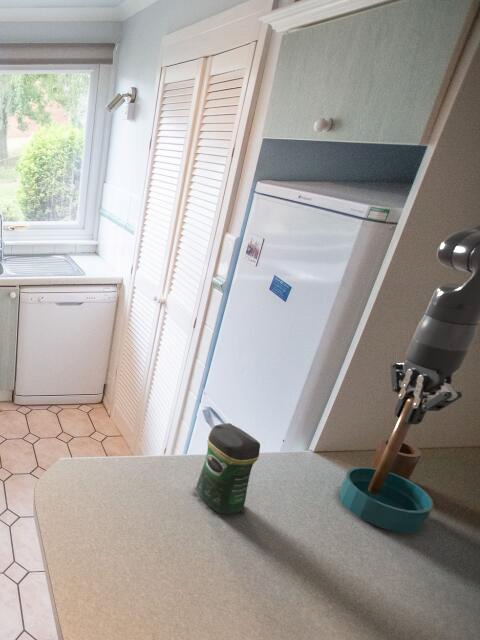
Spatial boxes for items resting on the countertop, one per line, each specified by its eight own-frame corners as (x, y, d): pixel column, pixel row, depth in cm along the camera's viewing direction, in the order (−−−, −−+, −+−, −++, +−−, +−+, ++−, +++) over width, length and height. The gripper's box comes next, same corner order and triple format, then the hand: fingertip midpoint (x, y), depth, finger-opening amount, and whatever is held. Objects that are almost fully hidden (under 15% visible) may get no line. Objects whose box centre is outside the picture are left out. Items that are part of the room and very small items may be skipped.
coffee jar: (249, 512, 100) (271, 442, 92) (219, 519, 98) (239, 449, 90) (217, 483, 108) (234, 417, 101) (188, 489, 106) (204, 422, 99)
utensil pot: (390, 468, 113) (404, 438, 109) (414, 488, 106) (430, 457, 102) (360, 467, 113) (372, 437, 109) (382, 487, 106) (396, 456, 103)
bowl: (386, 488, 106) (396, 467, 104) (440, 536, 93) (453, 514, 91) (323, 486, 107) (331, 465, 105) (368, 533, 94) (378, 511, 92)
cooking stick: (373, 490, 99) (416, 395, 90) (381, 497, 97) (425, 400, 88) (364, 490, 99) (405, 395, 90) (371, 496, 98) (414, 400, 88)
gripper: (500, 357, 77) (457, 440, 84) (429, 327, 90) (397, 402, 97) (453, 356, 78) (414, 439, 85) (390, 326, 91) (360, 401, 97)
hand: (405, 419), depth 91 cm, fingers closed on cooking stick, 2 cm apart
